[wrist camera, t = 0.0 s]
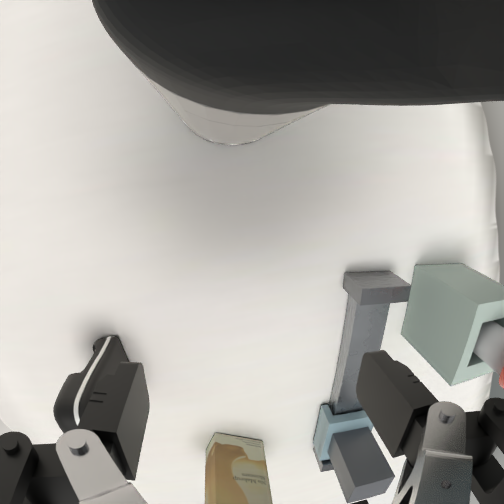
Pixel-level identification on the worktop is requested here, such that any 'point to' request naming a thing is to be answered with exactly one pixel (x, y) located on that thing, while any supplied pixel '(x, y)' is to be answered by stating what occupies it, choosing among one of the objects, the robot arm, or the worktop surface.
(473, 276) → the button housing
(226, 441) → the skincare box
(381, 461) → the carriage
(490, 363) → the red button
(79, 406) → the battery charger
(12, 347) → the worktop surface
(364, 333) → the rail
